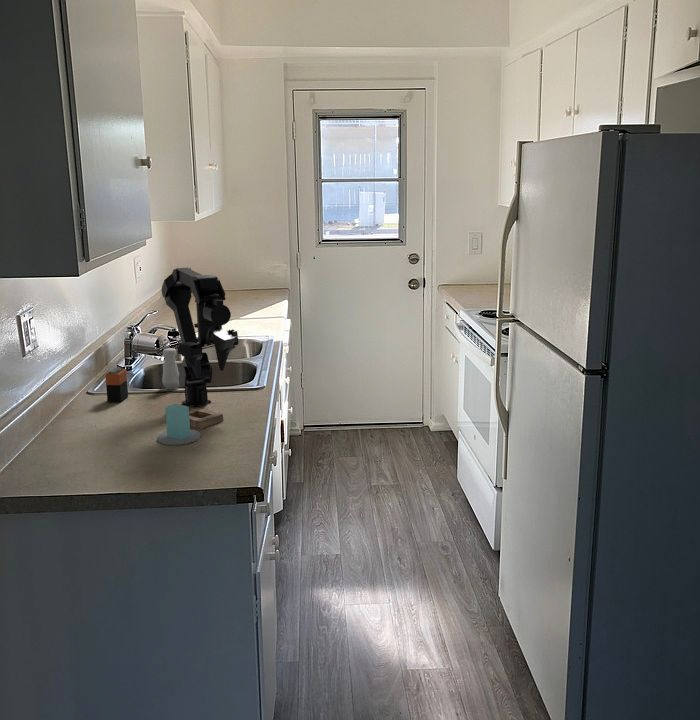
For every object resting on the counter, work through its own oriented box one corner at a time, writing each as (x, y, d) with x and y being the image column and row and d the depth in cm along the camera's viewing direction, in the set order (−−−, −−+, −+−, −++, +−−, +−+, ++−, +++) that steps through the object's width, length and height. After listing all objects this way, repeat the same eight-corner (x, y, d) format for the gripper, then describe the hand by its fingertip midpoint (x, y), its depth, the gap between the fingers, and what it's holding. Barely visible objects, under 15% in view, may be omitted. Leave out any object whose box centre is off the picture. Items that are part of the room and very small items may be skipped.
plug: (167, 436, 198) (165, 406, 196) (177, 432, 200) (175, 403, 199) (180, 439, 195) (178, 410, 193) (190, 436, 198) (188, 406, 196)
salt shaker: (161, 386, 248) (159, 347, 245) (179, 384, 250) (176, 346, 247) (164, 390, 243) (161, 351, 240) (182, 388, 245) (179, 349, 242)
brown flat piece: (175, 422, 211) (175, 415, 210) (198, 414, 218) (197, 408, 217) (200, 428, 205) (200, 421, 205) (223, 420, 212) (222, 413, 212)
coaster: (148, 440, 197) (148, 437, 196) (180, 428, 205) (180, 426, 205) (177, 448, 190) (177, 446, 190) (209, 436, 199) (208, 434, 199)
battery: (107, 402, 230) (104, 371, 228) (115, 396, 237) (112, 365, 234) (121, 403, 230) (118, 371, 227) (128, 396, 236) (126, 365, 234)
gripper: (203, 328, 200) (206, 385, 203) (251, 317, 214) (253, 371, 218) (174, 324, 206) (178, 379, 210) (223, 314, 221) (225, 365, 224)
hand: (210, 373), depth 215 cm, fingers open, 9 cm apart
